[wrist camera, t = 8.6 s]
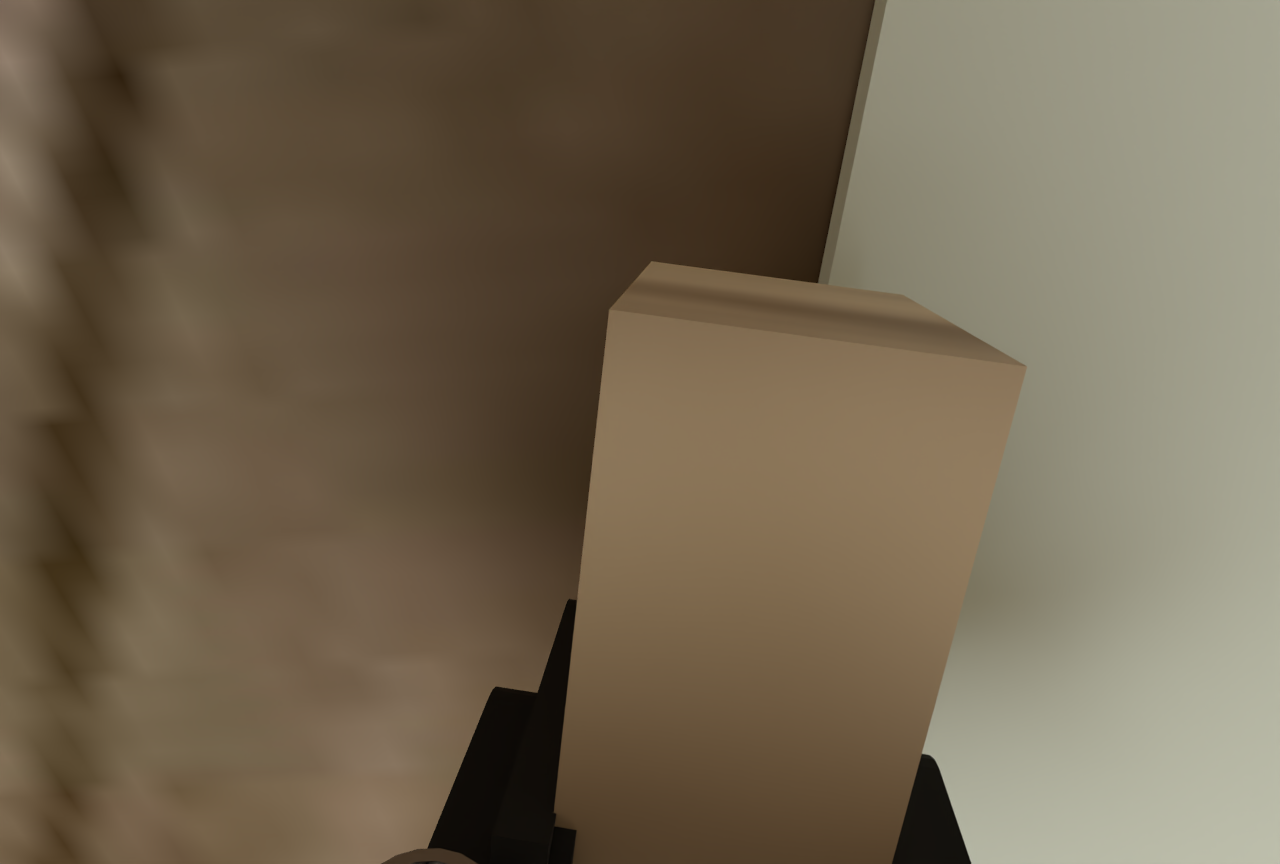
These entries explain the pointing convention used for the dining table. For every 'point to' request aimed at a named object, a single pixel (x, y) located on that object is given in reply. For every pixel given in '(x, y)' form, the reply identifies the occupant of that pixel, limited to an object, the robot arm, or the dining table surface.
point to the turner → (771, 566)
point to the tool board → (1098, 404)
